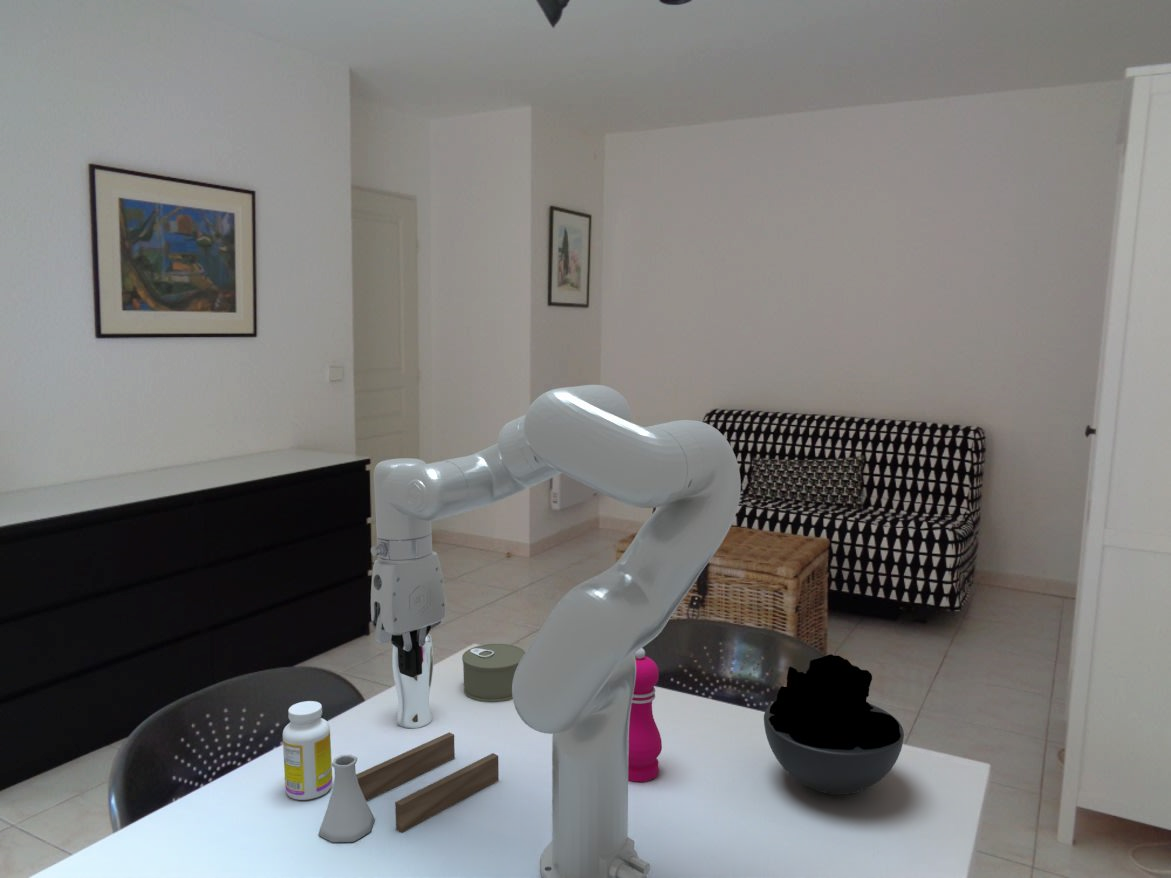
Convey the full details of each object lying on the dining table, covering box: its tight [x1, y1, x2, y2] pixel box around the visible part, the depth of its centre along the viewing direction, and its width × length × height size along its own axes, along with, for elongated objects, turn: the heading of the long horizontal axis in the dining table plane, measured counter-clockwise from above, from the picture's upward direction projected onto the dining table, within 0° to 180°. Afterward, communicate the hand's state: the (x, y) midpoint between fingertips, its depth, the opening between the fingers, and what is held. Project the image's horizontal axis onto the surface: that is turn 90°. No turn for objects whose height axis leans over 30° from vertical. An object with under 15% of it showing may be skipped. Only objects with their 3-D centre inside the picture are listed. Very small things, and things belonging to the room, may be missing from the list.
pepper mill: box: [628, 647, 663, 783], centre depth 130 cm, size 7×7×20 cm
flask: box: [318, 754, 376, 843], centre depth 116 cm, size 7×7×10 cm
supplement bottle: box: [282, 700, 333, 801], centre depth 126 cm, size 7×7×13 cm
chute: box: [356, 732, 500, 833], centre depth 126 cm, size 11×18×4 cm, turn 139°
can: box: [461, 643, 526, 704], centre depth 161 cm, size 12×12×7 cm
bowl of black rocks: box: [763, 653, 905, 795], centre depth 127 cm, size 20×20×19 cm
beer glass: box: [391, 633, 434, 729], centre depth 148 cm, size 7×7×15 cm
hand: (410, 673), depth 121 cm, fingers closed
